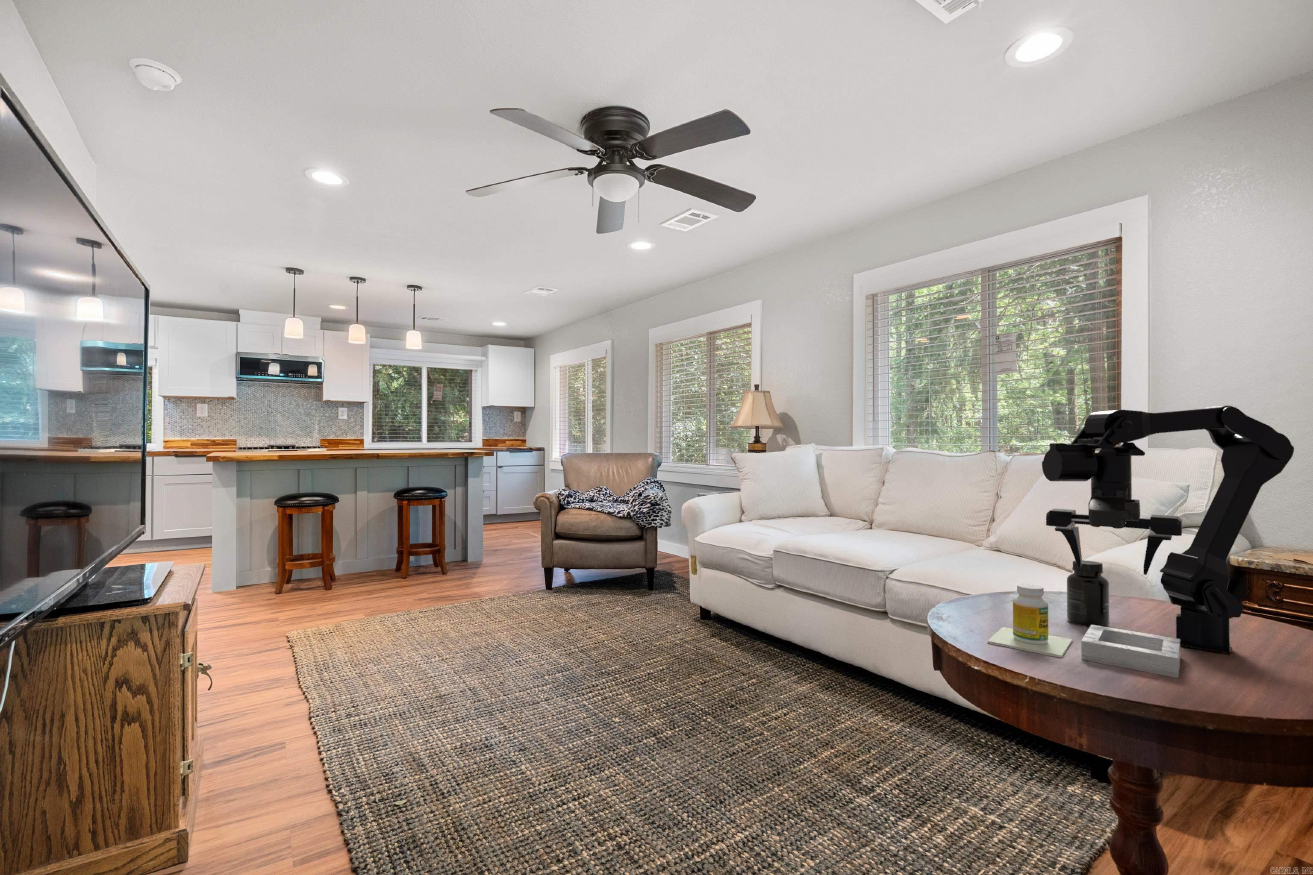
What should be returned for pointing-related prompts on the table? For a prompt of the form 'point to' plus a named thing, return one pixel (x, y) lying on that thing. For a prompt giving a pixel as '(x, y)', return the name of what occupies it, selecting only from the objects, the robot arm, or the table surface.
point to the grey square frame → (1132, 650)
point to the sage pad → (1052, 647)
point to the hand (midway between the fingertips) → (1111, 570)
